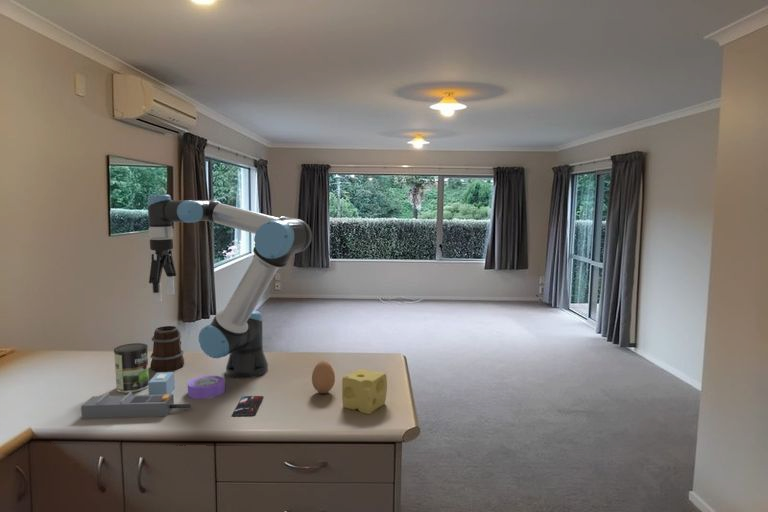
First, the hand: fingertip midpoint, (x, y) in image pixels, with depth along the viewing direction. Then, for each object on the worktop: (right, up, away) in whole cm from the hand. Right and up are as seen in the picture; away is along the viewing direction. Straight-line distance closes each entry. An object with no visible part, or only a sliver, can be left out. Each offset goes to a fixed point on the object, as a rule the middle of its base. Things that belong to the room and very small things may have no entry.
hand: (164, 297), depth 183 cm
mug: (-4, -27, +15) cm, 32 cm away
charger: (+5, -31, -14) cm, 34 cm away
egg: (+59, -31, -12) cm, 67 cm away
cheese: (+72, -32, -22) cm, 82 cm away
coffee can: (-7, -30, -8) cm, 32 cm away
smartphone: (+36, -32, -23) cm, 54 cm away
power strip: (+5, -32, -28) cm, 43 cm away
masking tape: (+19, -31, -12) cm, 38 cm away
